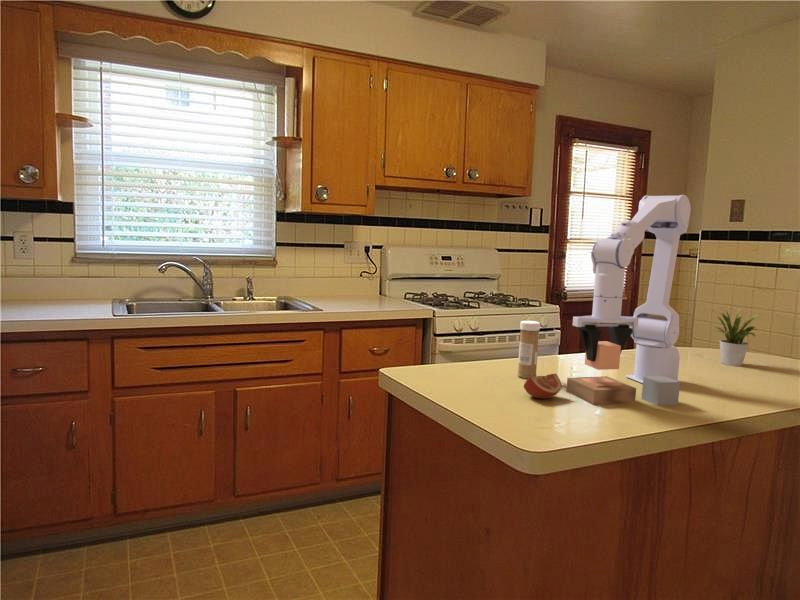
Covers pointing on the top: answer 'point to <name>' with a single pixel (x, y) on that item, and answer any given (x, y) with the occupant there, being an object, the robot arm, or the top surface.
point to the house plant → (734, 340)
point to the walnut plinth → (601, 390)
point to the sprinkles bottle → (528, 349)
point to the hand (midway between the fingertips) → (602, 360)
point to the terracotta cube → (605, 356)
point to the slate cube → (660, 390)
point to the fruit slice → (543, 386)
